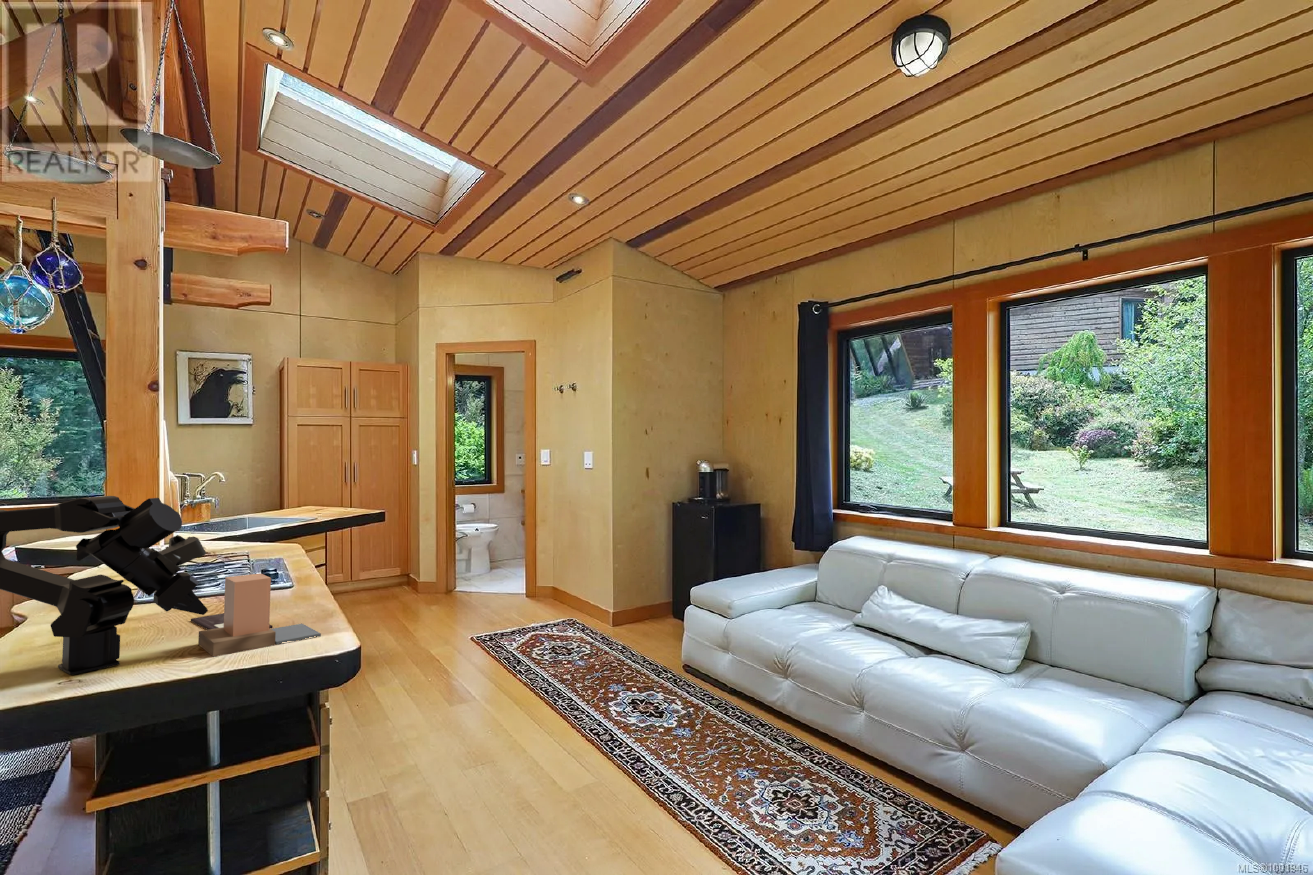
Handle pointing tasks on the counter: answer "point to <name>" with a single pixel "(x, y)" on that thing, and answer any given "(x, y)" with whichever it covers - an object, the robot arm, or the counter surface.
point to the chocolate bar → (212, 621)
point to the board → (233, 641)
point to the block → (247, 604)
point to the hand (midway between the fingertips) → (205, 612)
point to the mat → (294, 633)
